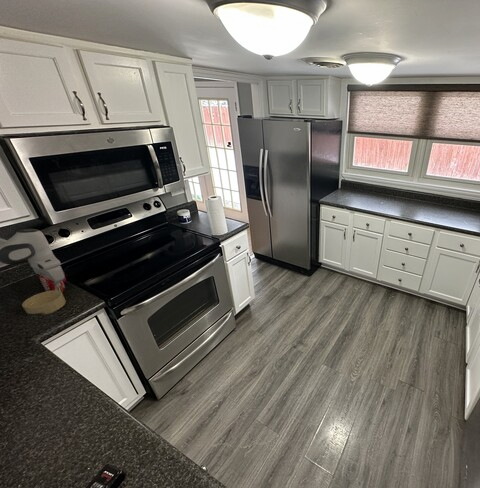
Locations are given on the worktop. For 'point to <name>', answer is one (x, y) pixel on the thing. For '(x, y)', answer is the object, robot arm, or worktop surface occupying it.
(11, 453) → the worktop surface
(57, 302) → the beige oval piece
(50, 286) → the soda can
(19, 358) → the worktop surface
